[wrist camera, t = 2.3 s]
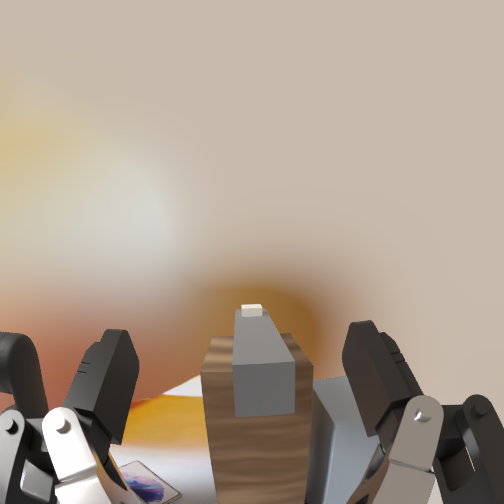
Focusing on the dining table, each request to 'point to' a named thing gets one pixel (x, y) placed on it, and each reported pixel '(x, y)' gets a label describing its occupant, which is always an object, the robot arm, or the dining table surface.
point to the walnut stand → (256, 434)
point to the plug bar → (261, 366)
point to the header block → (336, 443)
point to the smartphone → (148, 484)
